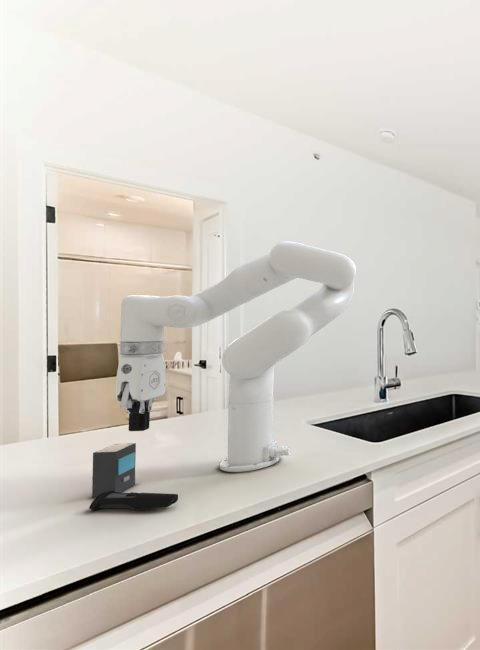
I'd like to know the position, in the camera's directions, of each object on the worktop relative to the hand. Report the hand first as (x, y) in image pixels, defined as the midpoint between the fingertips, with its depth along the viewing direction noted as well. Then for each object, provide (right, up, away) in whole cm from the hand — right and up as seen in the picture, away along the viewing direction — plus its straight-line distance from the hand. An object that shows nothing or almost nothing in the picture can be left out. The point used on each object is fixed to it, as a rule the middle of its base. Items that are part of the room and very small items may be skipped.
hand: (138, 430), depth 97 cm
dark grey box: (+2, -11, -8) cm, 13 cm away
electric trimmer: (+13, -11, -16) cm, 23 cm away
